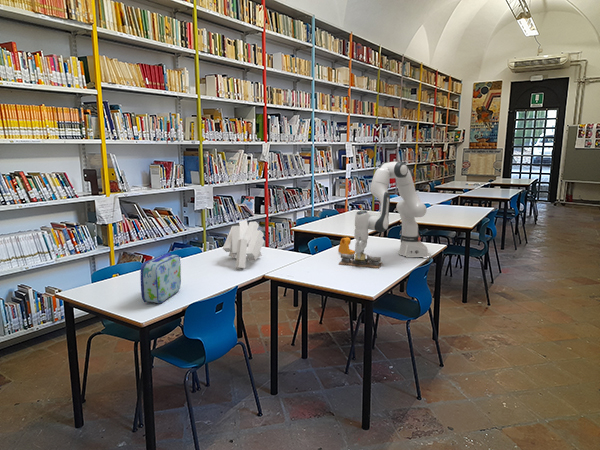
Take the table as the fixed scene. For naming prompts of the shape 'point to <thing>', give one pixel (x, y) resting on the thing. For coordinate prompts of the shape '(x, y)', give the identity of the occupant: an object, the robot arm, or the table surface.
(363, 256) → the coupler
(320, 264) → the table surface
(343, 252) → the orange toy figure
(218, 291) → the table surface
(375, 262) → the shaft bench
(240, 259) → the pile of blocks
